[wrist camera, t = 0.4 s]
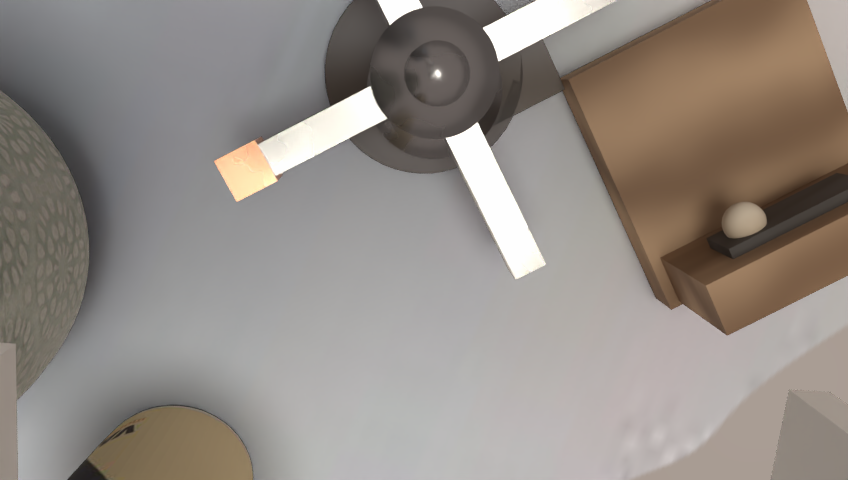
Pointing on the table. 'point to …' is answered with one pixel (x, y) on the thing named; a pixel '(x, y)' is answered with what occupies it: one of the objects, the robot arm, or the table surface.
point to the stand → (683, 145)
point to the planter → (37, 244)
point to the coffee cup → (169, 449)
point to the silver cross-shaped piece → (426, 107)
